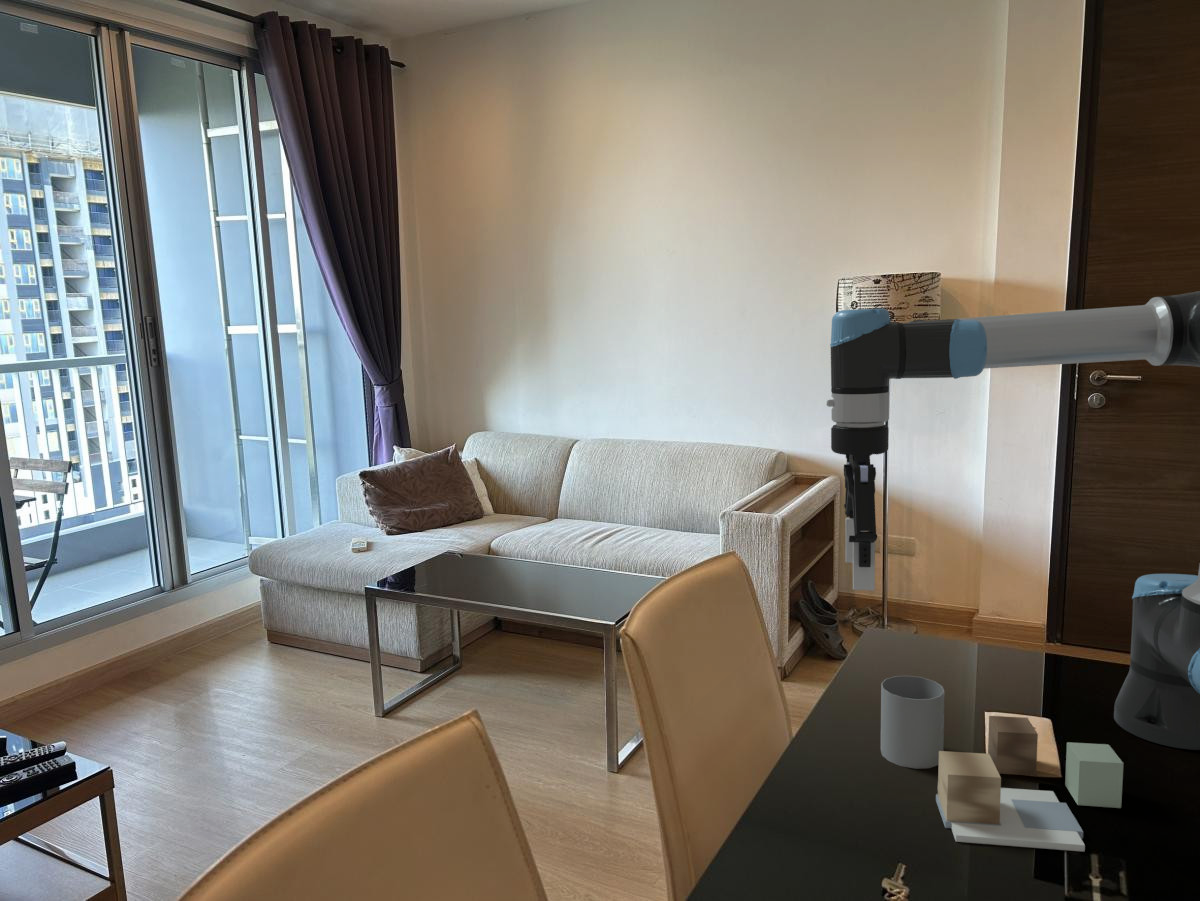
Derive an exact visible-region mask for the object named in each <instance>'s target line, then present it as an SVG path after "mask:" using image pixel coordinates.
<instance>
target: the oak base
mask: <svg viewBox="0 0 1200 901" xmlns="http://www.w3.org/2000/svg"><path fill="white" fill-rule="evenodd" d="M937 774H938V776H937V778H938V779H937V794H938V797H939V800H940V803H941V805H942V808H943V811H944V814H945V817H946V820H947V821H957V822H971V823H984V824H998V825H1000V794H1001V788H1002V777H1001V774H1000V773H998V771H997V769H996V767H995V765H994V763H993V761H992V759H991V757H990V755H989V754H988V753H980V752H979V753H978V752H961V751H950V750H949V751H947V750H943V751H939V765H938V773H937Z"/></svg>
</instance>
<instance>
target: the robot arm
mask: <svg viewBox="0 0 1200 901" xmlns="http://www.w3.org/2000/svg"><path fill="white" fill-rule="evenodd" d="M891 320H892V319H891V318H890V312H889V310H888V309H886V308H864V309H863V308H862V309H861V308H857V309H842V310H841V309H840V310H839V311H837V312H835V313H834V314H833V316H832V319H831V334H830V344H829V347H830V389H831V392H830V393H831V397H832V399H827V401H826V406H827V407H830V408H831V407H832V408H831V422H833V423H835V424H833V425H832V427H831V428H830V443H831V444H830V447H831V448H830V449H831V451H832V452H833V453H835V454H838V455H844V456H845V459H846V464H843V476H844V488H845V495H844V496H845V497H844V504H843V508H844V510H845V511H844V514H845V563H846V564H847V563H851V564H852V590H854V591H876V588H875V587H876V585H875V584H876V581H875V580H876V577H875V576H876V574H875V573H876V571H875V570H876V568H875V567H876V564H875V563H876V541H877V539H878V534H877V522H876V520H877V518H876V499H875V498H876V497H875V493H876V484H875V480H876V475H877V469H876V467H875V466H874V464H871V456H872V455H881V454H885V453H887V451H888V450H889V430H890V429H889V427H888V425H886V424H885V423H886V422H888V421H889V419H890V390H889V389H890V388H889V385H890V384H889V382H890V380H891V379H892V380H893V379H894V380H900V379H942V378H943V379H945V378H948V379H949V378H951V379H952V378H953V379H956V380H957V379H959V378H968V377H969V378H970V377H977V376H979V375H980V374H981V373H983V371H984V369H998V368H999V369H1002V368H1003V369H1004V368H1018V367H1036V366H1037V367H1038V366H1051V365H1054V366H1055V365H1067V364H1068V365H1070V364H1087V363H1104V362H1120V361H1121V362H1122V361H1124V362H1125V361H1139V360H1145V361H1146V362H1148V363H1149V364H1150V365H1151V366H1154V367H1156V366H1185V367H1186V366H1188V367H1198V368H1200V290H1199V291H1198V290H1197V291H1194V292H1186V293H1181V294H1175V295H1166V296H1163V295H1162V296H1154V297H1152V298H1149V301H1148V302H1147V303H1145V304H1142V305H1140V304H1139V305H1128V306H1127V305H1126V306H1114V307H1113V306H1112V307H1101V308H1100V307H1099V308H1086V309H1071V310H1059V311H1044V312H1031V313H1015V314H1004V315H991V316H990V315H987V316H979V317H978V316H977V317H975V316H974V317H964V318H963V317H961V318H960V317H959V318H955V319H954V318H952V319H951V318H948V319H947V318H945V319H935V320H913V321H909V322H896V321H894V322H893V321H891ZM1197 574H1198V575H1195V574H1185V573H1184V574H1181V573H1151V574H1144V575H1141V576H1139V577H1138V578H1137V579H1136V580H1135V582H1134V588H1133V589H1134V590H1133V594H1132V596H1131V600H1132V616H1131V617H1132V618H1131V634H1130V635H1131V637H1130V639H1131V640H1130V641H1131V642H1130V659H1129V660H1130V663H1129V664H1130V665H1129V671H1128V673H1127V676H1126V677H1125V679H1124V682H1123V683H1122V686H1121V688H1120V690H1119V691H1118V695H1116V696H1117V697H1116V699H1115V702H1114V708H1113V710H1114V711H1113V719H1114V721H1115V722H1116V724H1117V725H1118V726H1119V727H1121V728H1122V729H1123V730H1125V731H1126V732H1128V733H1130V734H1131V735H1134V736H1135V737H1138V738H1140V739H1143V740H1146V741H1148V742H1151V743H1155V744H1158V745H1162V746H1166V747H1171V748H1174V749H1175V748H1177V749H1182V750H1190V751H1191V750H1192V751H1200V564H1199V566H1198V573H1197Z"/></svg>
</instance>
